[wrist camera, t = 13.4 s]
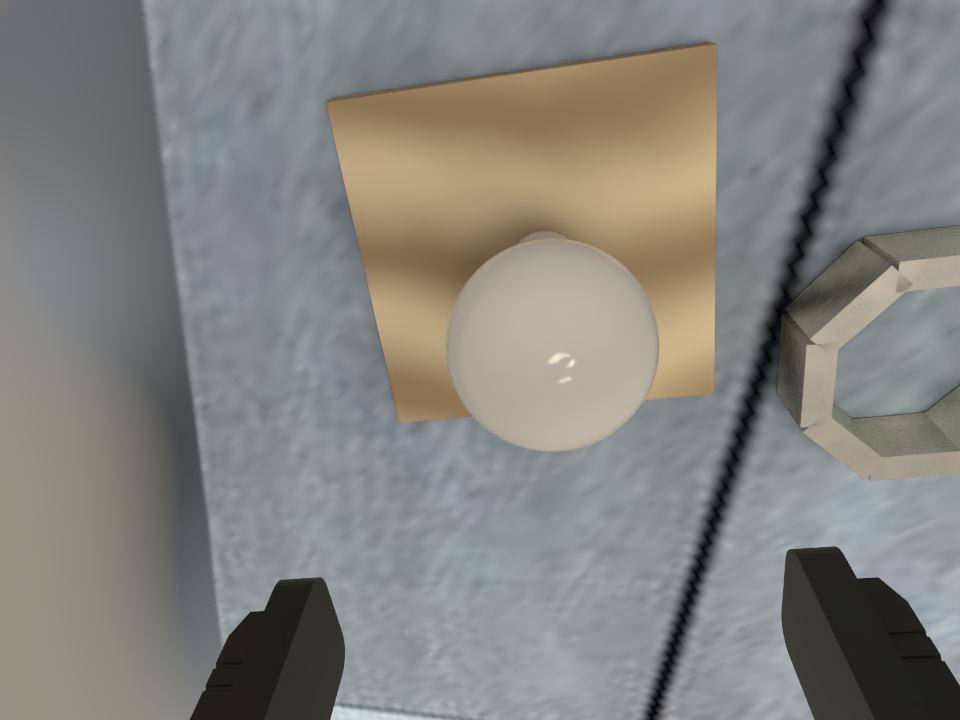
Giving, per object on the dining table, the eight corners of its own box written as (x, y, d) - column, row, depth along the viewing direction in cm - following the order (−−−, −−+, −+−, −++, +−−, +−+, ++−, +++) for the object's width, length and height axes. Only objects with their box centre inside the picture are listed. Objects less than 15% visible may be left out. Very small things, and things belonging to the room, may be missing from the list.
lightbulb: (635, 313, 29) (692, 476, 19) (485, 343, 30) (468, 512, 20) (610, 160, 26) (663, 261, 16) (446, 199, 27) (404, 315, 17)
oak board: (333, 97, 27) (325, 102, 26) (709, 41, 25) (717, 43, 24) (403, 409, 33) (399, 423, 32) (707, 380, 31) (714, 393, 30)
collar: (785, 245, 28) (812, 271, 26) (1049, 215, 27) (1105, 239, 25) (773, 447, 33) (795, 486, 30) (1000, 428, 32) (1043, 467, 29)
